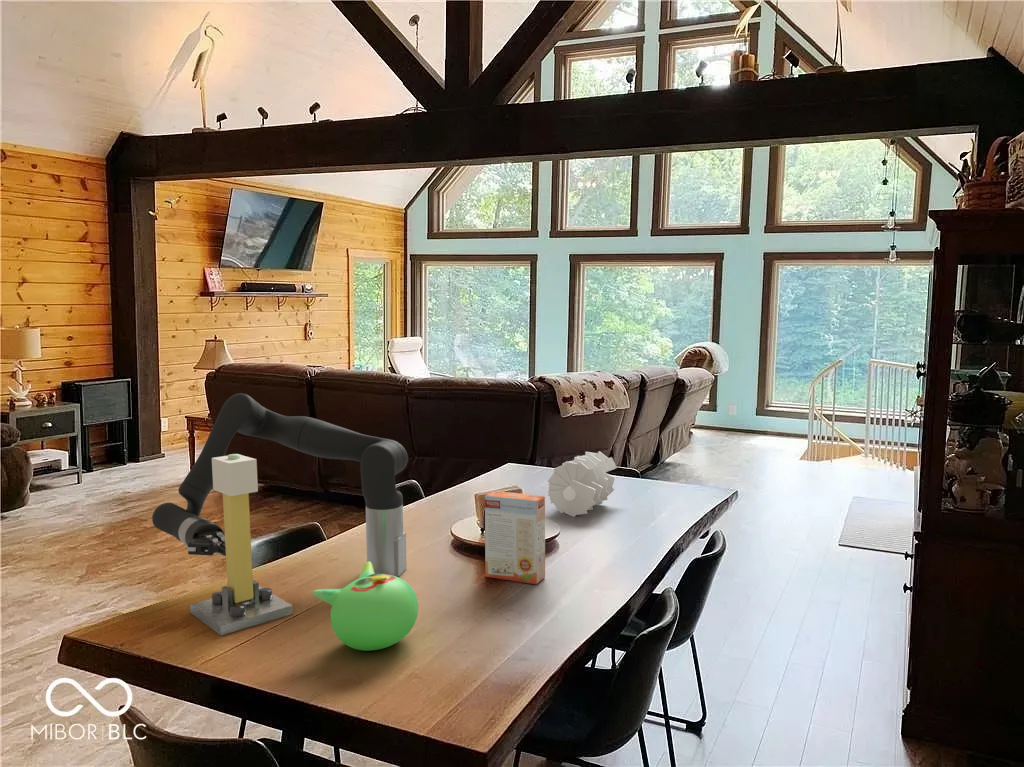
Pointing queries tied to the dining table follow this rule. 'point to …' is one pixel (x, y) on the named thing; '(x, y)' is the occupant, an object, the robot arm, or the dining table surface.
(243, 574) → the post
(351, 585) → the green horned blob
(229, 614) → the tripod base plate
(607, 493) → the spiral staircase
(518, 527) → the cracker box
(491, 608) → the dining table surface
